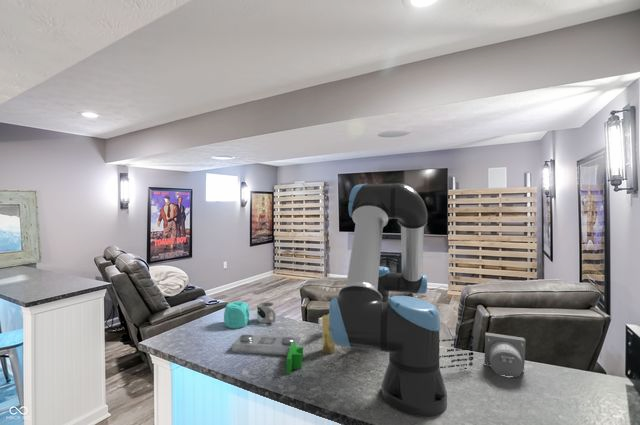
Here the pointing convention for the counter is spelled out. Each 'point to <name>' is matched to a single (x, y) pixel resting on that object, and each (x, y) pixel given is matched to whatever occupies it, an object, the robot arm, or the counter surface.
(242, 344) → the plate with dome knobs
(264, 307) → the mug
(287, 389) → the counter surface
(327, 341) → the link pin
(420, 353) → the robot arm
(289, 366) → the pipe clamp
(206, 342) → the counter surface
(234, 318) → the decorative dice
